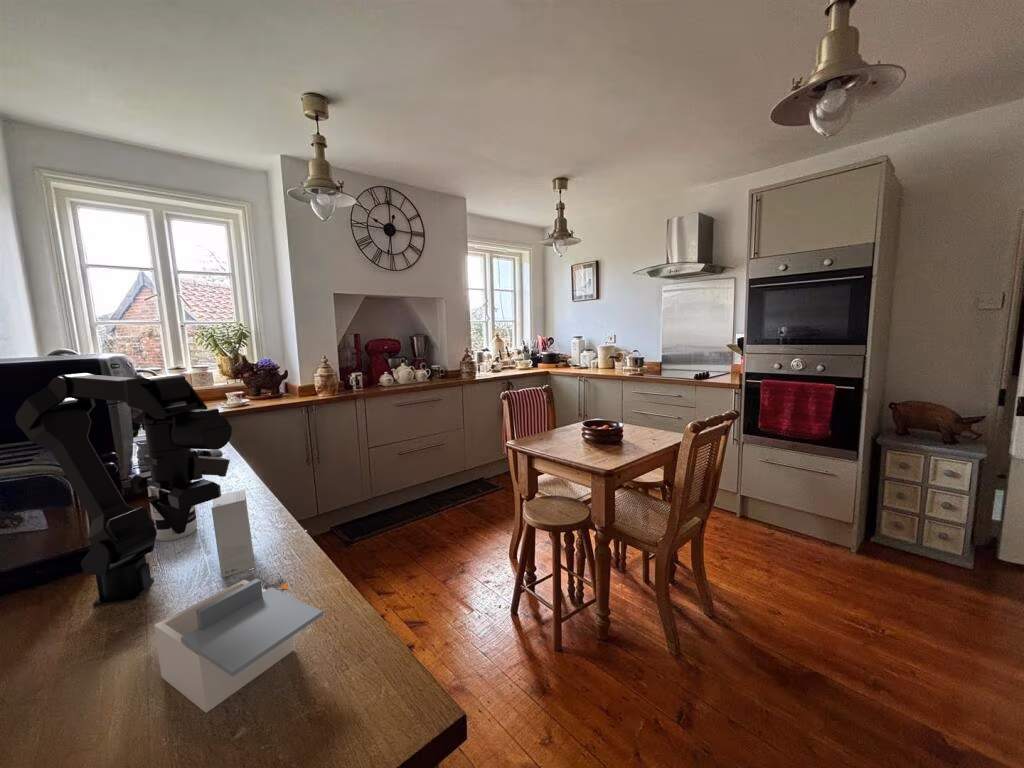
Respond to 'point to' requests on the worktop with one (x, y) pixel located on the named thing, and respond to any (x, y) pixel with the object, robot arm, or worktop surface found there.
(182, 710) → the worktop surface
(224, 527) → the skincare box
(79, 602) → the worktop surface
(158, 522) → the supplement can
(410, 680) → the worktop surface
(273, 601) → the lid
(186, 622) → the mailer box
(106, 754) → the worktop surface
